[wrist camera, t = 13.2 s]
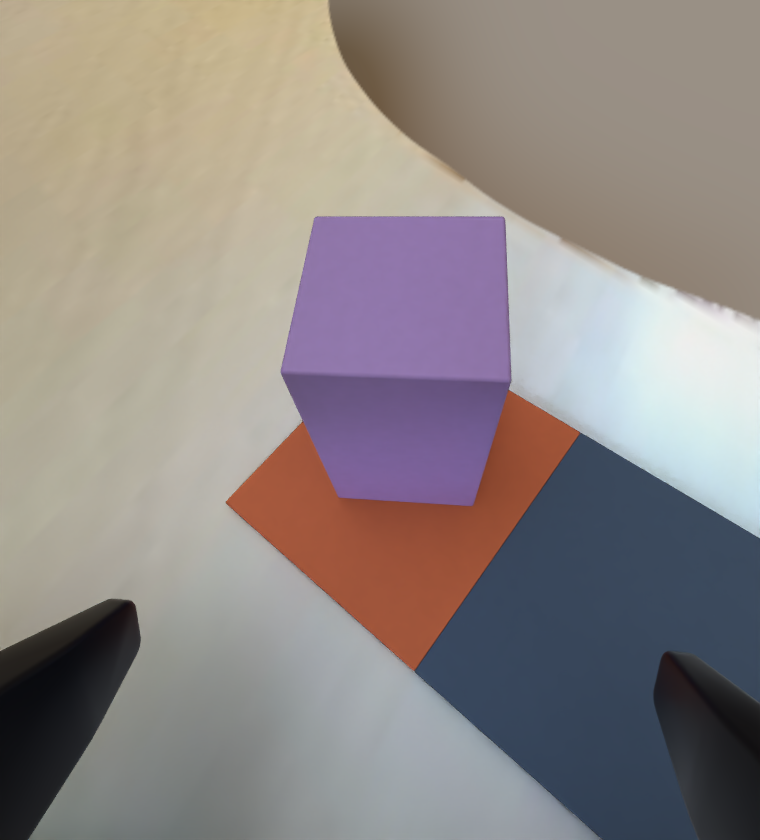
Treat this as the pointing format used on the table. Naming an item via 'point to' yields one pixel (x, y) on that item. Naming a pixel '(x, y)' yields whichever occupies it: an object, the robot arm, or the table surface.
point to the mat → (537, 602)
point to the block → (402, 353)
